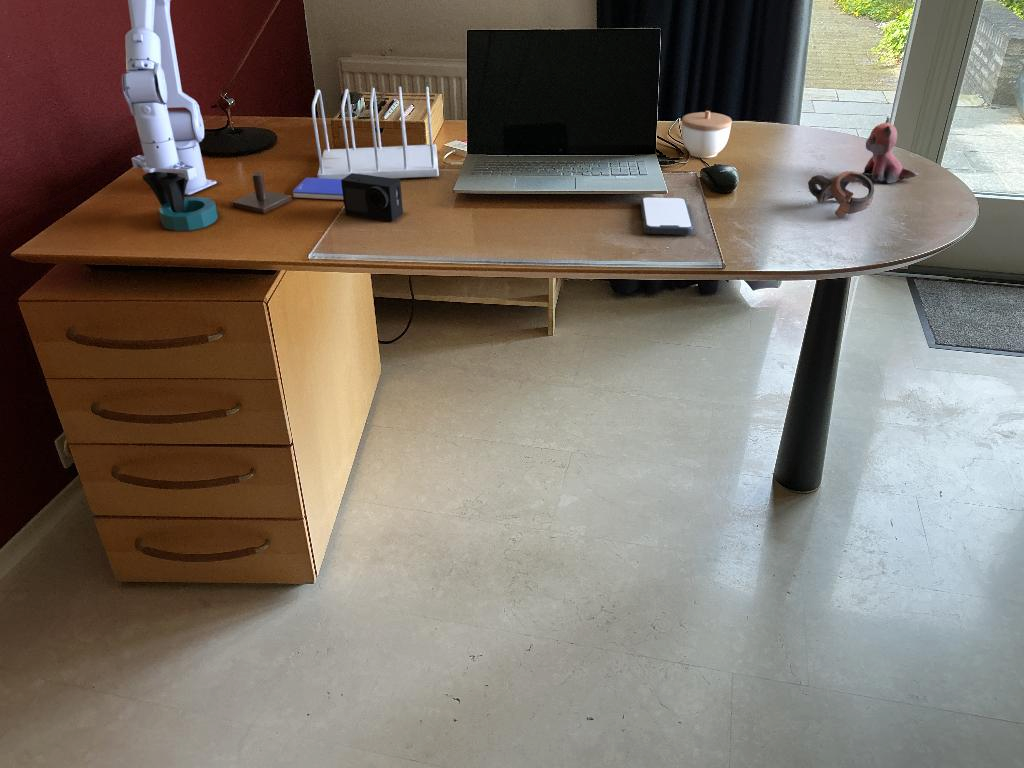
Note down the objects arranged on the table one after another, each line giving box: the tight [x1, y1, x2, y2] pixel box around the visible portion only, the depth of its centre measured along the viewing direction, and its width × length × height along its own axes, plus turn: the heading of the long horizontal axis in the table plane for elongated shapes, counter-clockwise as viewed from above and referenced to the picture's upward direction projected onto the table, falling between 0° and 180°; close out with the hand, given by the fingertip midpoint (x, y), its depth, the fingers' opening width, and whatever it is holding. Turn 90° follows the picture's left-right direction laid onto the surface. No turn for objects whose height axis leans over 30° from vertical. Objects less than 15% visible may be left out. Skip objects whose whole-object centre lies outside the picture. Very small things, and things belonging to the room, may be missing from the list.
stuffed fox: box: [862, 116, 920, 184], centre depth 174 cm, size 8×11×12 cm
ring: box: [158, 196, 219, 232], centre depth 161 cm, size 10×10×3 cm
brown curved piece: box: [807, 170, 875, 219], centre depth 162 cm, size 12×10×8 cm
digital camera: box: [341, 173, 404, 222], centre depth 161 cm, size 10×5×7 cm, turn 68°
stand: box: [232, 171, 292, 215], centre depth 167 cm, size 8×8×6 cm
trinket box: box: [681, 110, 733, 159], centre depth 190 cm, size 11×11×9 cm
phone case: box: [640, 196, 694, 236], centre depth 160 cm, size 9×2×16 cm
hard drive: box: [292, 177, 344, 201], centre depth 173 cm, size 2×8×12 cm
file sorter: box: [311, 86, 440, 179], centre depth 182 cm, size 25×17×16 cm
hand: (173, 209), depth 163 cm, fingers closed on ring, 2 cm apart
